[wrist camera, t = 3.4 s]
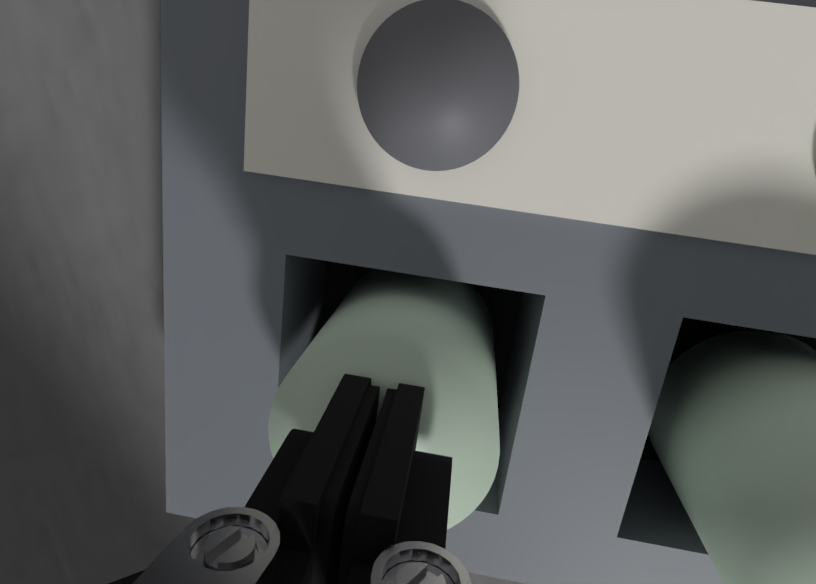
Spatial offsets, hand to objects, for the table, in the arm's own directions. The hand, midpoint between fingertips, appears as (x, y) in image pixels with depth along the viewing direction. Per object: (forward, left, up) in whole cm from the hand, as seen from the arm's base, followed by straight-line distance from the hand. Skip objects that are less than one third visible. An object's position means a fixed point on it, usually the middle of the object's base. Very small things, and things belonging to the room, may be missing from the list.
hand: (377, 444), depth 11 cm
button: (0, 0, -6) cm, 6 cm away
